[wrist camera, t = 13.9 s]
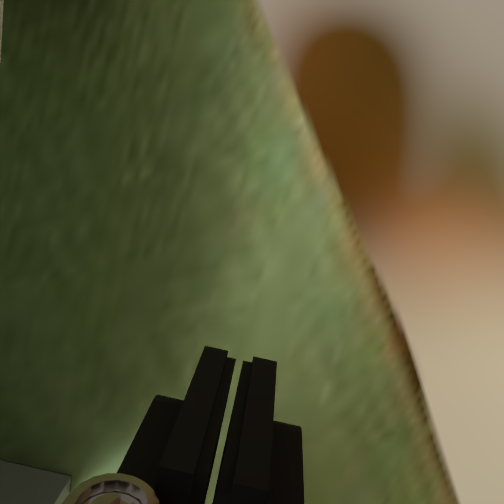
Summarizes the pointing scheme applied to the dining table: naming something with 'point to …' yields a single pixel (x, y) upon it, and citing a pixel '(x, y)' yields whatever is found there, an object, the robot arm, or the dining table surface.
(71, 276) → the dining table surface
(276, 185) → the dining table surface
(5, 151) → the dining table surface
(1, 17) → the lid
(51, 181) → the dining table surface
